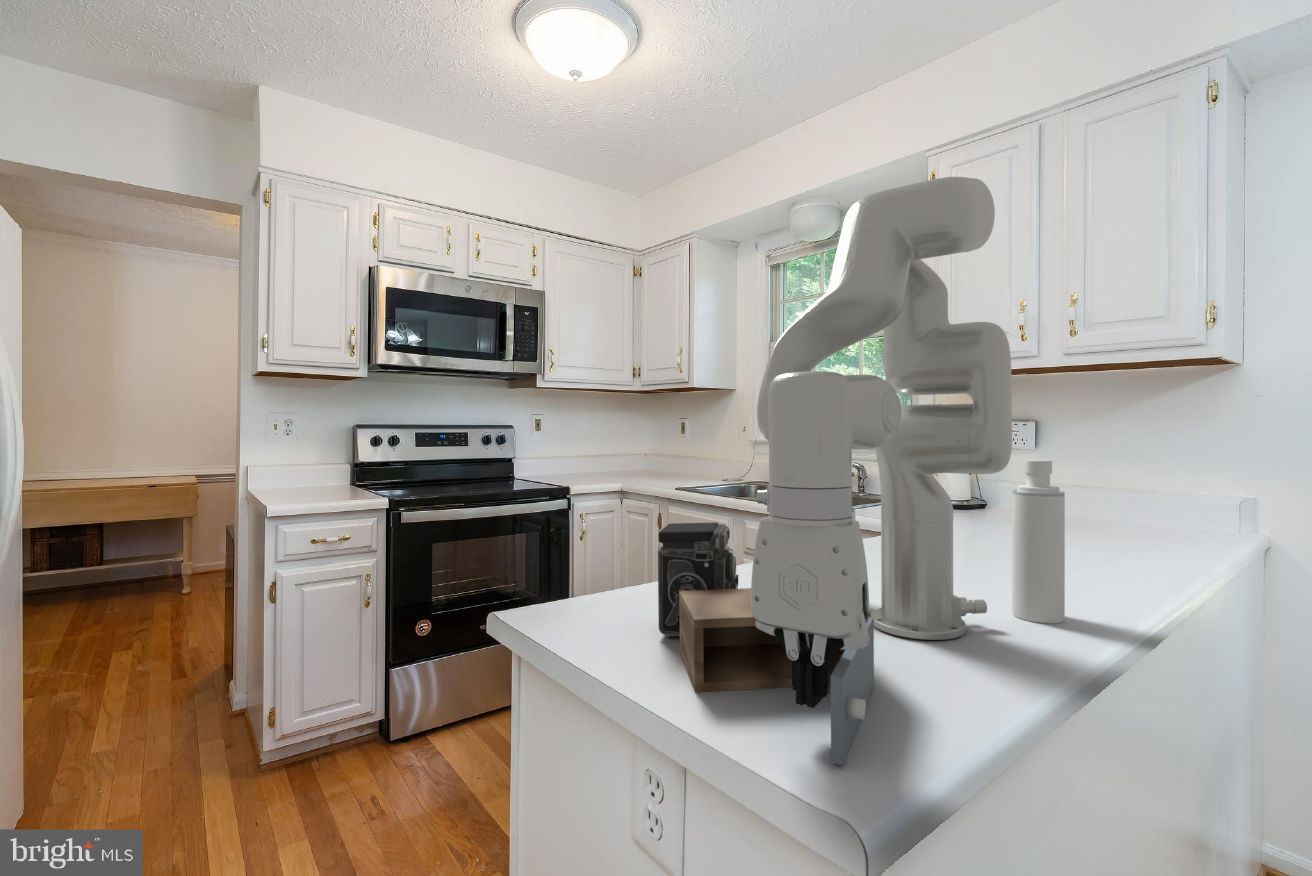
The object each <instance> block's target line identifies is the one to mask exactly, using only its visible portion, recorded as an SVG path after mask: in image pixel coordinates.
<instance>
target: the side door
mask: <svg viewBox="0 0 1312 876" xmlns="http://www.w3.org/2000/svg"><path fill="white" fill-rule="evenodd" d="M866 625H867V630H868V634H869V638H870V643H869V644H868V645H867V646H866V647H865V648H863V649H851V650H845V651H844V653H843V655H842V657H841V659H840V660H839V662H838V664H837V666H836V668H835V669H834V671H833V673H832V675H831V685H830V763H831V764H835V765H840V766H844V764H845V762H846V759H847V756H848V754H849V751H850V749H851V746H852V743H853V740H854V738H855V735H856V732H857V730H858V727H859V725H860V722H861V720H863V721H864V720H865V717H866V711H867V710H866V708H867V707H866V706H867V703H868V701H869V698H870V696H871V693H872V691H873V687H874V685H875V647H874V646H875V642H874V640H875V635H874V634H875V632H874V631H875V629H874V628H875V626H874V618H873V617H868V621H867V623H866Z"/></svg>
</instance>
